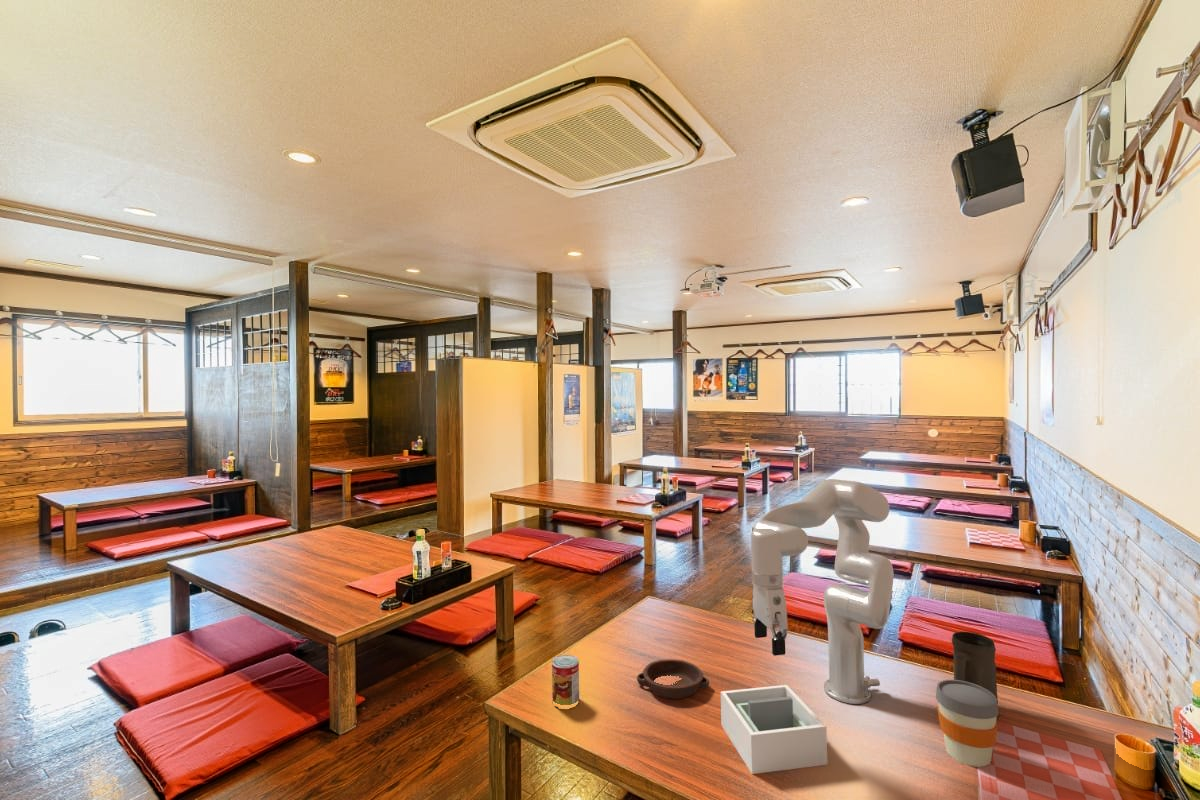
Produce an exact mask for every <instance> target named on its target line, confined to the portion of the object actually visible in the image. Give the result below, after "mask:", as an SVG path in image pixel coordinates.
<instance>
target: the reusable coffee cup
mask: <svg viewBox="0 0 1200 800" xmlns="http://www.w3.org/2000/svg"><path fill="white" fill-rule="evenodd" d="M935 693H936V694H935V698H936V701H937V703H938V706H937V709H936V710H937V715H938V721H939V727H940V730H941V731H942V734H943V738H944V740H943V741H944V745H945V750H946V752H947V754H948V755H949V756H951V758H953V759H954V760H956V761H957V762H960V763H962V764H965V765H967V766H970V767H975V768H977V767H978V768H981V767H980V766H986V765H988V764H989V765H990V764H991V763H990V762H992V756H993V755H992V754H993V747H994V746H995V745H996V742H997V734H998V726H999V725H998V721H997V718H998V717H997V715H998V714H999V715H1000V710H999V706H998V705H999V704H997V699H998V697H997V698H996V697H995V695H994V694H993V693H991V692H990V691H988V690H987V689H985V688H983V687H981V686H978V685H976V684H973V683H969V682H965V681H960V680H954V679H943V680H940V681H938V682H937V684H936V691H935ZM998 710H999V711H998ZM996 717H997V718H996ZM989 765H988V766H989ZM986 767H987V766H986Z"/></svg>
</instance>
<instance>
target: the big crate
mask: <svg viewBox="0 0 1200 800" xmlns="http://www.w3.org/2000/svg"><path fill="white" fill-rule="evenodd" d="M789 696H790V697H791V698H792V699H793V712H794V713H795V714H796V715H797V716H798V717H799V719H800V720H801V721H802V722H803V723H804V724H805V725H806V726H802V727H793V728H785V729H776V730H767V731H758V732H753V731H752V729H751V728H750V727H749V725H748V724H747V722H746V721H745V720H744V718H743V717H742V715H741V714H740V713H739V711H738V710H737V708H736V704H740V703H748V701H750V700H760V699H770V698H780V697H789ZM720 719H721V722H720V723H721V727H722V729H723V730H724V732H725V733H726V735H727V737H728V738H729V739H730V742H731V743H732V745H733V746H734V748H735V749H736V751H737V752H738V754H739V756H740V757H741V759H742V760H743V762H744V764H745V765H746V766H747V769H748V770H749V772H750V773H751V775H755V774H762V773H772V772H779V771H780V772H781V771H787V770H794V769H803V768H810V767H818V766H826V765H828V742H827V741H828V739H827V737H828V735H827V725H826V724H825V723H824V722H823V720H821V719H820V718H819V717H818V716H817V715H816V714H815V713H814V712H813V711H812V710H811V709H810V708H809V706H807V705H806V704H805V702H804V701H803V700H802V699H801V698H800V697H799V696H798V695H797V694H796V693H795V692H794V691H793V690H792V689H791V687H790V686H788V685H787V684H783V685H781V684H780V685H773V686H764V687H763V686H762V687H753V688H752V687H751V688H741V689H732V690H723V691H720Z"/></svg>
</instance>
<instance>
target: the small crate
mask: <svg viewBox="0 0 1200 800" xmlns="http://www.w3.org/2000/svg"><path fill="white" fill-rule="evenodd" d="M736 708H737V710H738V711H739V713H740V714H741V715H742V717H743V718H744V720H745V721H746V722H747V724H748V725H749V727H750V728H751V729H752V731H753V732H758V731H767V730H776V729H785V728H793V727H802V726H806V725H805V724H804V723H803V722H802V721H801V720H800V719H799V717H798V716H797V715H796V714H795V713H794V712H793V699H792V698H791V697H790V696H789V697H780V698H770V699H760V700H750V701H748V703H740V704H736Z"/></svg>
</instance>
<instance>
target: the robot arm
mask: <svg viewBox="0 0 1200 800" xmlns="http://www.w3.org/2000/svg"><path fill="white" fill-rule="evenodd" d="M889 514H890V503H889V501H888V498H887V497H886V496H885V495H884V494H883V493H882V492H879V491H878V490H877V489H875V488H873V487H871V486H869V485H867V484H865V483H863V482H860V481H855V480H854V481H853V480H845V479H843V480H842V479H835V478H833V479H832V478H828V479H824V480H823V481H820V482H819V483H818V484H817V486H815V487H814V488H813V489H812V490H811V491H810V492H809V493H807V494H806V495H805V496H804V497H803V498H801V499H800V500H797V501H793V502H791V503H787V504H784V505H781V506H778V507H776V508H773V509H771V510H769V511H767V512H766V514H764V515H763V516H762V517H760V519H759V520H758V521H757V522H756V523H755V525H754V527H753V529H752V532H751V534H750V551H751V552H750V553H751V577H752V578H751V581H752V585H753V586H752V600H751V605H752V606H751V607H752V613H753V625H754V637H755V638H756V639H759V638H761V639H762V638H766V637H767V636H768V629H769V630H770V631H771V635H772V638H771V654H772V655H773V656H775V657H776V656H785V655H786V640H787V636H788V635H787V634H788V629H789V627H788V614H787V602H786V596H785V591H784V588H783V587H784V575H783V568H784V567H783V557H795V556H798V555H801V554H803V553H804V552H805V550H806V549H807V548H808V545H809V537H808V535H807V534H808V533H806V532H805V531H804V529H810V528H811V529H812V528H817V527H821V526H822V525H824V524H825V523H826V522H827V521H828V520H829V519H830V518H831V517H832V516H833V517H834V518H835V519H834V520H835V521H836V524H837V527H838V540H837V546H836V552H835V553H836V554H835V560H834V572H835V575H836V576H837V577H838V578H840V579H842V580H844V581H847V582H851V583H855V584H859V585H862V586H866V587H868V590H864V589H862V588H861V589H860V588H857V587H854V586H851V585H847V584H841V583H833V584H830V585H828V586H827V587H826V588H825V589H824V592H823V605H824V609H825V614H826V615H825V616H826V619H827V620H826V622H827V633H828V634H827V638H828V639H827V640H828V641H827V642H828V644H827V645H828V674H829V676H828V679H827V680H825V681H824V682H823V689H824V692H825V693H826V694H827V695H828V696H829V697H831V698H832V699H834V700H836V701H838V702H842V703H846V704H852V705H859V704H860V705H861V704H865V703H868V702H869V701H870V700H871V698H872V697H871V696H872V693H871V691H870V688H871V687H880V685H881V682H880V680H879V679H878V678H870V676H869V675H865V657H864V656H865V655H864V653H865V651H864V633H863V631H862V628H861V626H862V625H863V626H865V627H867V628H871V629H876V630H877V629H878V630H879V629H882V628H884V627H885V626H886V624H887V623H888V619H889V616H890V609H891V600H892V594H893V585H894V574H895V573H894V568H893V564H892V562H891V561H890V559H888V557H886V556H884V555H882V554H876V553H871V552H869V546H870V538H871V536H870V532H869V530H868V528H867V526H866V525H865V522H871V523H881V522H884V521H885V520H887V518H888V517H889ZM864 521H865V522H864ZM860 625H861V626H860ZM777 630H779V631H777Z"/></svg>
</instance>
